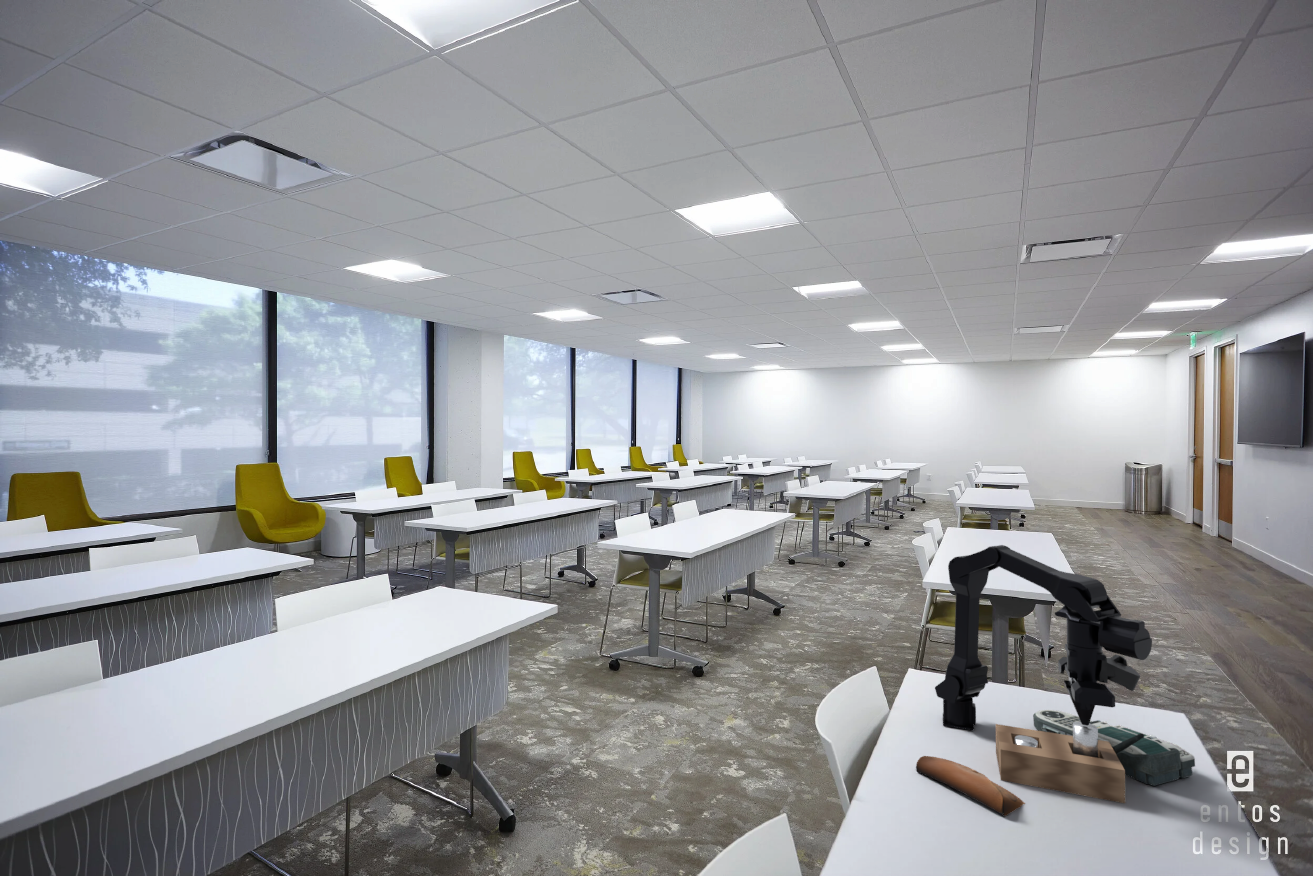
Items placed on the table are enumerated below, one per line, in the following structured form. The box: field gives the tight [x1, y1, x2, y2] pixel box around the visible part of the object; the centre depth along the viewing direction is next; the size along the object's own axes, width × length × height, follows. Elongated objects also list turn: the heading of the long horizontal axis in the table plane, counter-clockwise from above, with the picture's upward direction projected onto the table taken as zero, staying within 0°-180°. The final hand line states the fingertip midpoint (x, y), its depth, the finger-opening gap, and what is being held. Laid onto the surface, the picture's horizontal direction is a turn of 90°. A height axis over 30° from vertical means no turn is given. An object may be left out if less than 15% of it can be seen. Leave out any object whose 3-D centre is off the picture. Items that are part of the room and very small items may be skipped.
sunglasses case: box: [915, 755, 1026, 817], centre depth 121 cm, size 18×7×7 cm
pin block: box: [995, 723, 1126, 804], centre depth 125 cm, size 20×12×6 cm, turn 66°
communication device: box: [1032, 709, 1196, 787], centre depth 135 cm, size 14×28×10 cm, turn 19°
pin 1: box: [1015, 735, 1038, 748], centre depth 127 cm, size 4×4×6 cm
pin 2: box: [1073, 722, 1098, 758], centre depth 123 cm, size 4×4×6 cm
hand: (1084, 724), depth 123 cm, fingers closed
